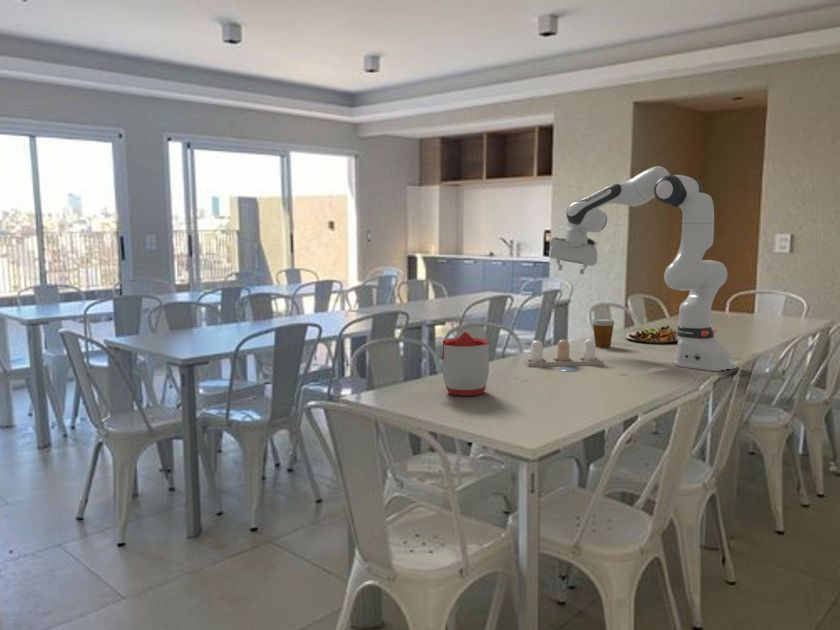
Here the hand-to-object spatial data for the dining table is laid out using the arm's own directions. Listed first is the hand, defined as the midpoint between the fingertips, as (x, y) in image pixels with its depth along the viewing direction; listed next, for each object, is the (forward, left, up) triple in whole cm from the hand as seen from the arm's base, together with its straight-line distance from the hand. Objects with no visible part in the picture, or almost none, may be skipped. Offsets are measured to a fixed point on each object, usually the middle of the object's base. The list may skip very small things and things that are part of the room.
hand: (570, 271), depth 297 cm
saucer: (-34, +34, -33) cm, 59 cm away
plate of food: (-5, -48, -34) cm, 59 cm away
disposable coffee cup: (-4, -15, -34) cm, 37 cm away
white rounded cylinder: (-30, +19, -32) cm, 48 cm away
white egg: (-20, +36, -32) cm, 53 cm away
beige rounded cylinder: (-25, +28, -32) cm, 49 cm away
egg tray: (-25, +28, -33) cm, 50 cm away
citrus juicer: (-36, +82, -34) cm, 95 cm away
